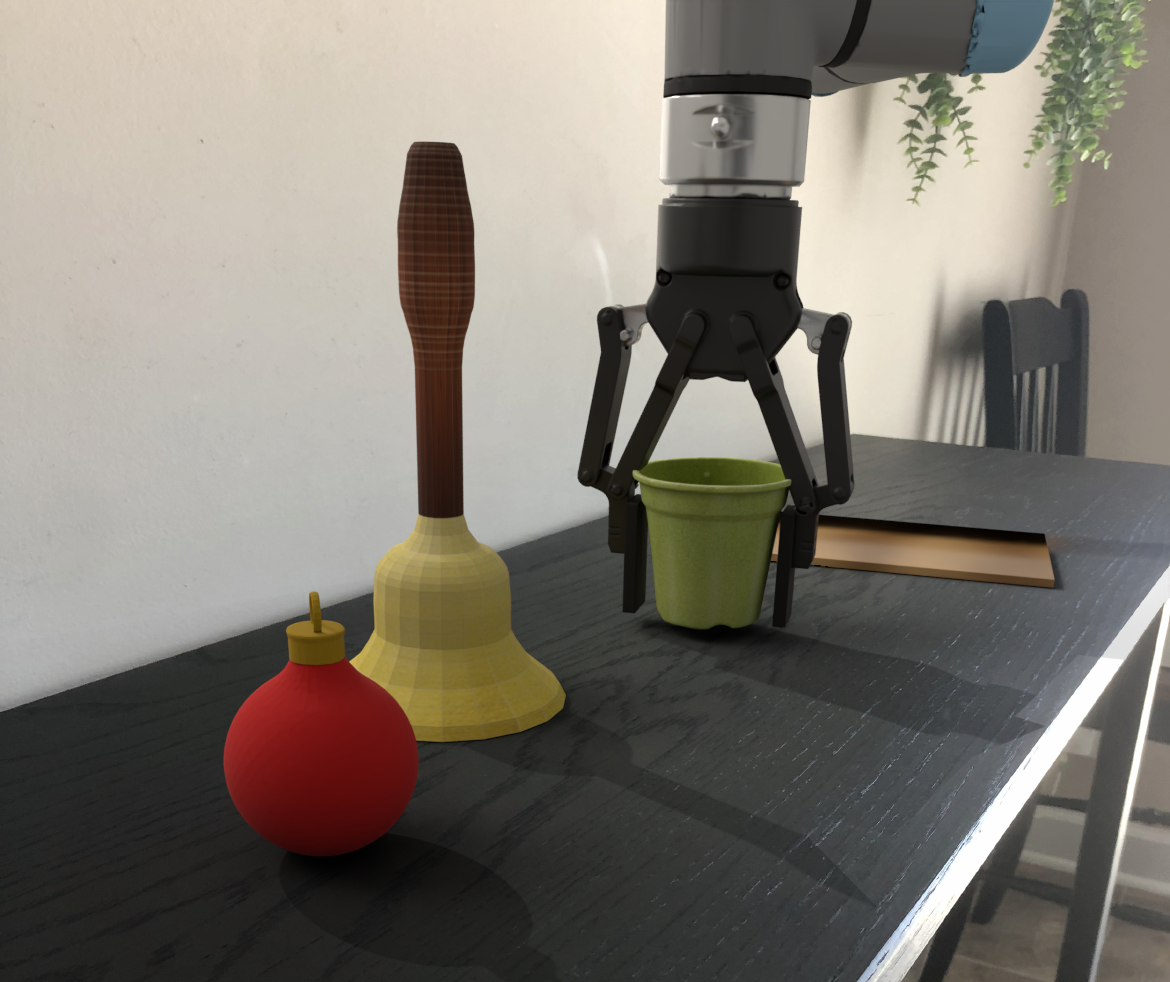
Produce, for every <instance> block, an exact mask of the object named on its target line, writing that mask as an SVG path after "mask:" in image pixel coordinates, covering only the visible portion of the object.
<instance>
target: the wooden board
mask: <svg viewBox="0 0 1170 982" xmlns="http://www.w3.org/2000/svg"><path fill="white" fill-rule="evenodd" d="M782 512H783V510H781V514H782ZM781 514H780V519H781ZM780 519H779V523H778V528H777V533H776V538H775V543H774V548H773V553H772V558H771V560H772V561H777V558H778V545H779V532H780ZM1049 551H1050V550H1049V546H1048V543H1047V537H1046V533H1044V532H1031V531H1020V530H1008V529H1007V530H1006V529H995V528H982V527H973V526H972V527H970V526H959V525H948V524H935V523H924V522H923V523H922V522H912V521H902V520H901V521H900V520H888V519H877V518H867V517H866V518H863V517H853V516H839V515H828V514H819V520H818V531H817V542H816V553H815V557H814V559H813V561H812V563H811V564H815V565H821V566H820V567H825V566H828V567H827V568H837V569H846V570H847V569H848V570H857V571H858V570H859V571H868V572H881V573H888V574H889V573H890V574H898V575H899V574H901V575H911V576H920V577H930V578H931V577H933V578H943V579H953V580H964V581H975V582H986V583H995V584H996V583H997V584H1008V585H1018V586H1028V587H1037V588H1038V587H1039V588H1050V589H1053V588H1054V587H1055V583H1056V579H1055V575H1054V570H1053V565H1052V561H1051V556H1050V552H1049Z"/></svg>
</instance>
